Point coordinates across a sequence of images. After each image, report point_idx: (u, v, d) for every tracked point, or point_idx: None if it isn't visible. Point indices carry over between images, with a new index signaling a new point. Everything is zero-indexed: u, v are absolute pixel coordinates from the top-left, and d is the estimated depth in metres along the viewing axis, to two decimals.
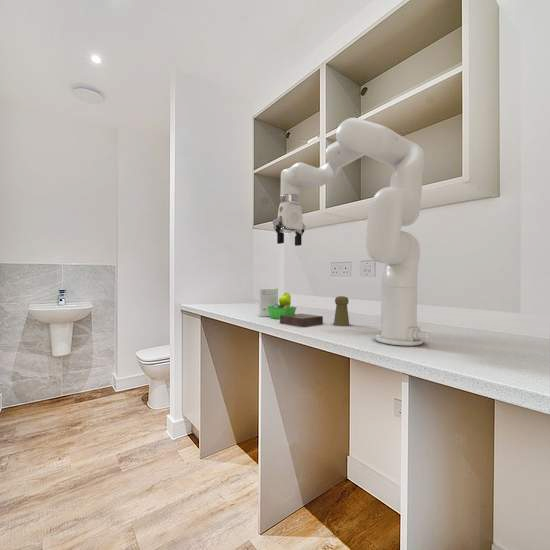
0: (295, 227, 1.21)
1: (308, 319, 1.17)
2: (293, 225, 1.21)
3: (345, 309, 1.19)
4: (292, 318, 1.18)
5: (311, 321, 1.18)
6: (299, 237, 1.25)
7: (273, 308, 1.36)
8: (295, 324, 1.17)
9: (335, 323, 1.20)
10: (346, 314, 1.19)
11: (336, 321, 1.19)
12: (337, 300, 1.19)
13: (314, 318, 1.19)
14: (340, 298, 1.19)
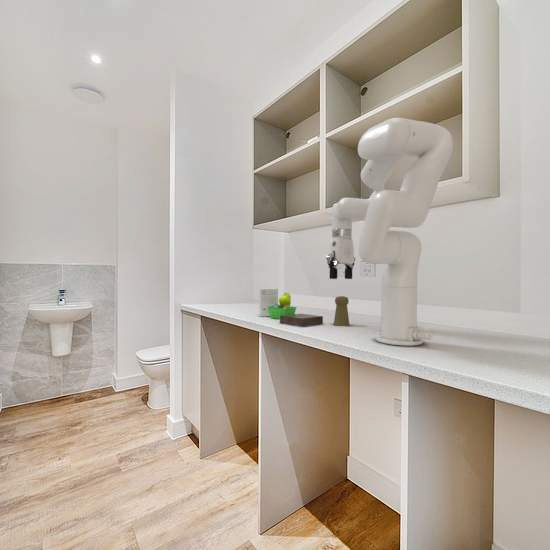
0: (348, 262, 1.20)
1: (308, 319, 1.17)
2: (346, 260, 1.19)
3: (345, 309, 1.19)
4: (292, 318, 1.18)
5: (311, 321, 1.18)
6: (350, 271, 1.24)
7: (273, 308, 1.36)
8: (295, 324, 1.17)
9: (335, 323, 1.20)
10: (346, 314, 1.19)
11: (336, 321, 1.19)
12: (337, 300, 1.19)
13: (314, 318, 1.19)
14: (340, 298, 1.19)
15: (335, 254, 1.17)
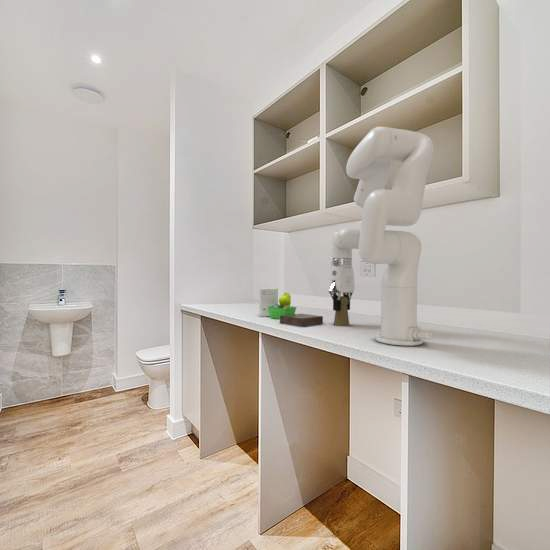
0: (348, 291, 1.19)
1: (308, 319, 1.17)
2: (346, 289, 1.18)
3: (345, 309, 1.19)
4: (292, 318, 1.18)
5: (311, 321, 1.18)
6: (348, 302, 1.22)
7: (273, 308, 1.36)
8: (295, 324, 1.17)
9: (335, 323, 1.20)
10: (346, 314, 1.19)
11: (336, 321, 1.19)
12: None
13: (314, 318, 1.19)
14: (340, 298, 1.19)
15: (335, 287, 1.17)
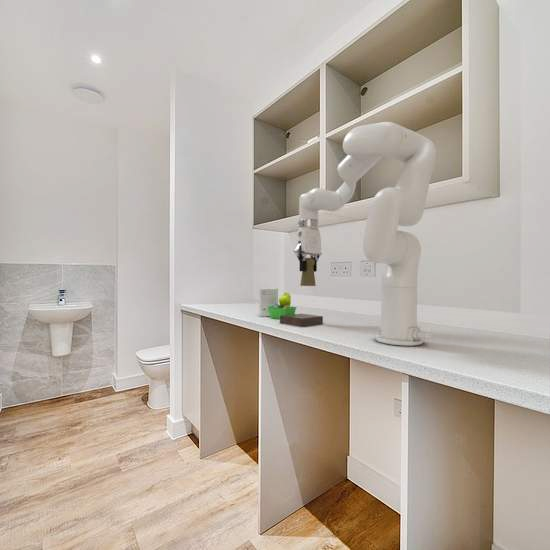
0: (314, 252, 1.21)
1: (308, 319, 1.17)
2: (312, 250, 1.20)
3: (311, 270, 1.21)
4: (292, 318, 1.18)
5: (311, 321, 1.18)
6: None
7: (273, 308, 1.36)
8: (295, 324, 1.17)
9: (301, 284, 1.22)
10: (312, 274, 1.21)
11: (302, 282, 1.21)
12: None
13: (314, 318, 1.19)
14: (306, 259, 1.21)
15: (301, 247, 1.19)
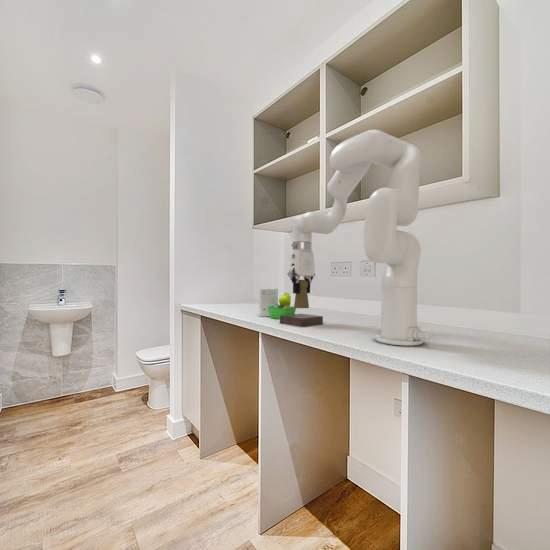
0: (307, 274, 1.22)
1: (308, 319, 1.17)
2: (305, 272, 1.21)
3: (304, 292, 1.21)
4: (292, 318, 1.18)
5: (311, 321, 1.18)
6: (308, 285, 1.24)
7: (273, 308, 1.36)
8: (295, 324, 1.17)
9: (295, 306, 1.22)
10: (305, 296, 1.21)
11: (295, 304, 1.22)
12: None
13: (314, 318, 1.19)
14: (299, 281, 1.21)
15: (294, 270, 1.19)
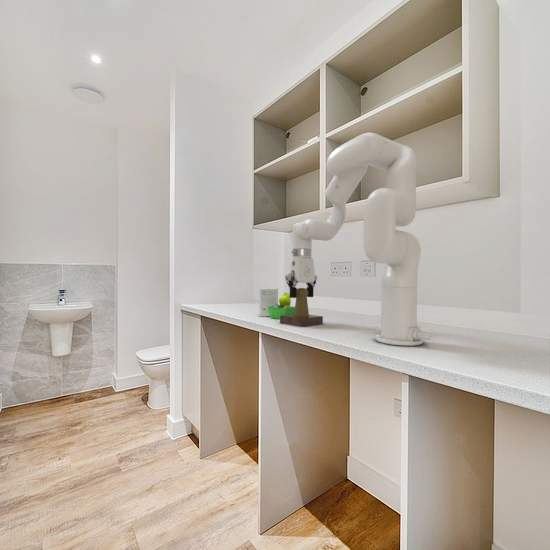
0: (307, 281, 1.21)
1: (308, 319, 1.17)
2: (305, 279, 1.21)
3: (304, 300, 1.21)
4: (292, 318, 1.18)
5: (311, 321, 1.18)
6: (311, 289, 1.25)
7: (273, 308, 1.36)
8: (295, 324, 1.17)
9: (295, 314, 1.22)
10: (305, 305, 1.21)
11: (295, 312, 1.22)
12: None
13: (314, 318, 1.19)
14: (299, 289, 1.21)
15: (294, 273, 1.19)
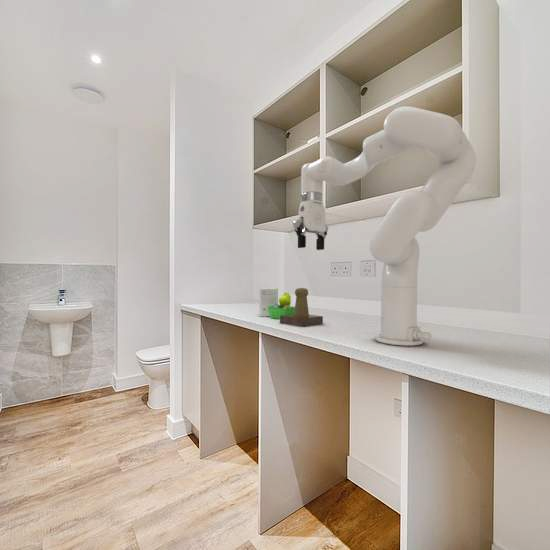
0: (318, 229, 1.07)
1: (308, 319, 1.17)
2: (316, 227, 1.07)
3: (304, 300, 1.21)
4: (292, 318, 1.18)
5: (311, 321, 1.18)
6: (322, 240, 1.11)
7: (273, 308, 1.36)
8: (295, 324, 1.17)
9: (295, 314, 1.22)
10: (305, 305, 1.21)
11: (295, 312, 1.22)
12: (296, 291, 1.22)
13: (314, 318, 1.19)
14: (299, 289, 1.21)
15: (303, 220, 1.05)
